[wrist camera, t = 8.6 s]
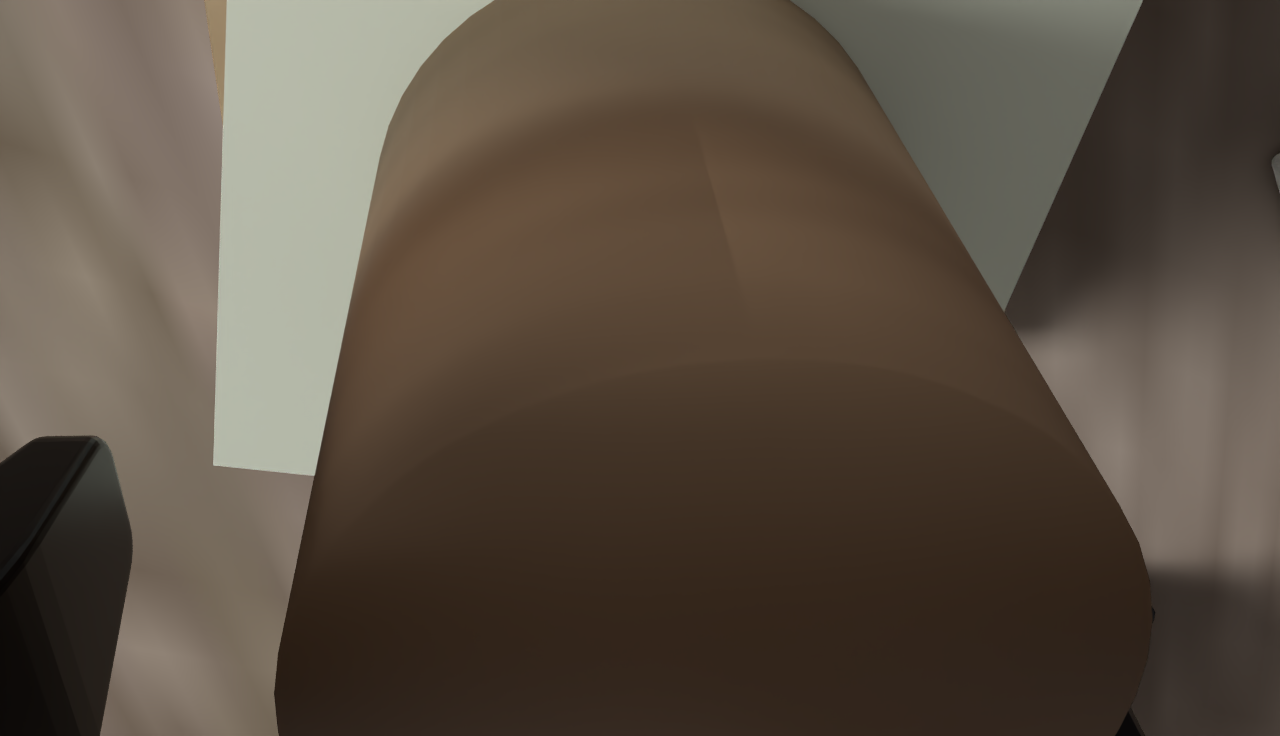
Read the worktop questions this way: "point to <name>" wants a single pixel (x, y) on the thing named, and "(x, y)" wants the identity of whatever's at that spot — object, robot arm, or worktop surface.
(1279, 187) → the skincare box
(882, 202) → the brown rounded cylinder
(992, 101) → the sage block
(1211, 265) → the worktop surface
